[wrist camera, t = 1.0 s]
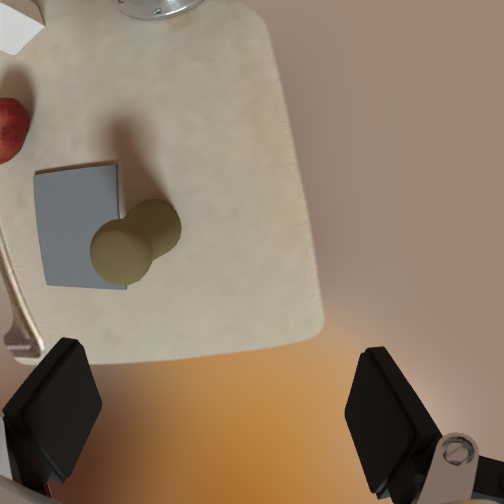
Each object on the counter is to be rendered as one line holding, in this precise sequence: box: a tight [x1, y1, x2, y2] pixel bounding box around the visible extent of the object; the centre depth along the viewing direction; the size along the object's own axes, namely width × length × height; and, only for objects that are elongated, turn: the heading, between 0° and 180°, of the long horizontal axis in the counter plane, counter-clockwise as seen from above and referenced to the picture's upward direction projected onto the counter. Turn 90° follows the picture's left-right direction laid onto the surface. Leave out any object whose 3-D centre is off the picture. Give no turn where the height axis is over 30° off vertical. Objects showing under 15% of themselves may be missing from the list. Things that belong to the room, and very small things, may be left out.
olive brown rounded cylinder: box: [90, 199, 181, 286], centre depth 25 cm, size 6×6×11 cm
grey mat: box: [33, 165, 127, 290], centre depth 30 cm, size 14×12×1 cm
